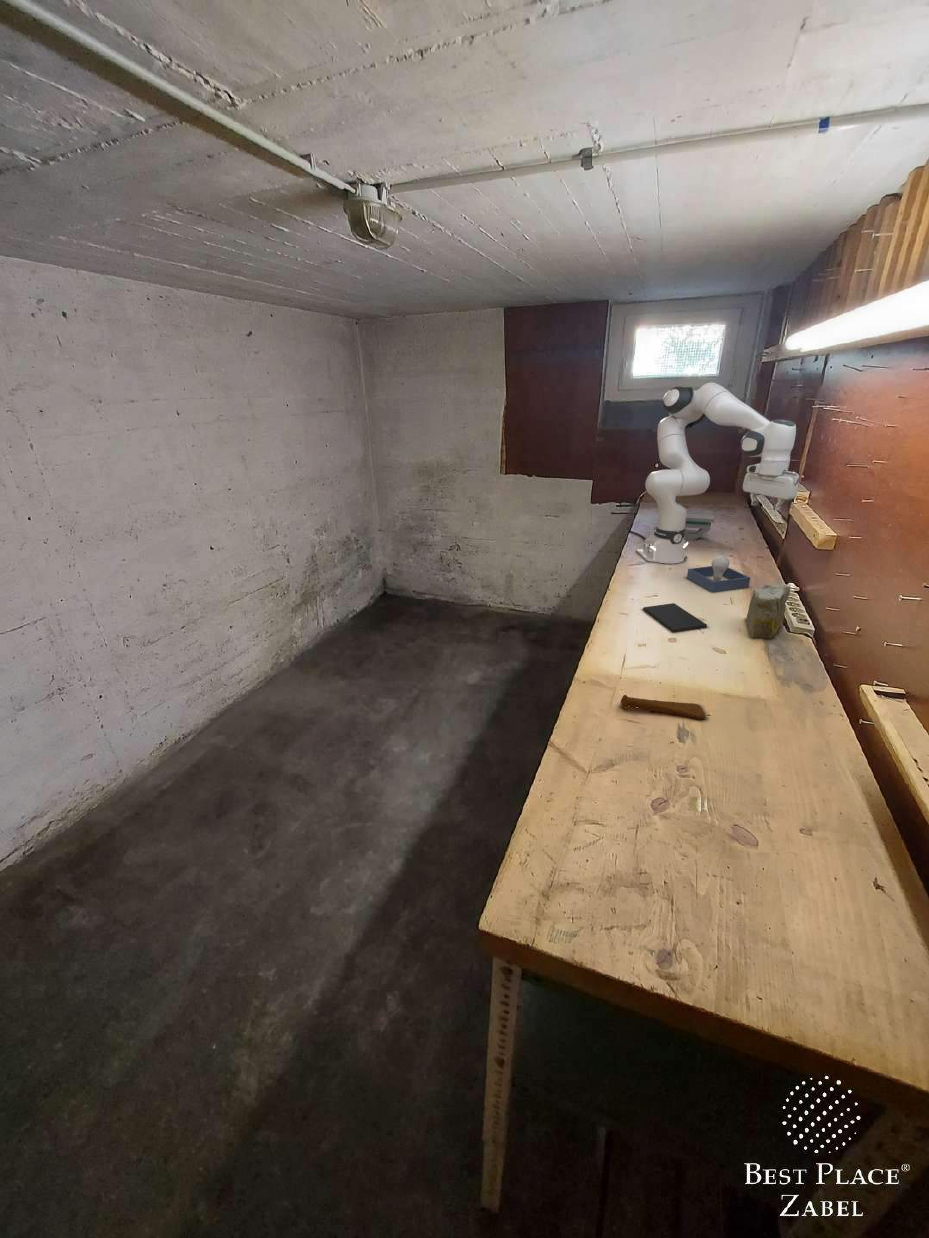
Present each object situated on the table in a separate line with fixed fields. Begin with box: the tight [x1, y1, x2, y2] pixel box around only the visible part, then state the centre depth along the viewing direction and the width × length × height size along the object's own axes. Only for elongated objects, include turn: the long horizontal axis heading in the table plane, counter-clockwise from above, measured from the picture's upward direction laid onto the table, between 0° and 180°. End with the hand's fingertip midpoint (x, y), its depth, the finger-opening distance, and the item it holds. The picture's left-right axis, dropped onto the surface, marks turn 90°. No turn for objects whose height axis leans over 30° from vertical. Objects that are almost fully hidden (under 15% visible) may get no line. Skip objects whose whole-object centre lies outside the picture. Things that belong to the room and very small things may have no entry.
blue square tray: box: [686, 565, 751, 593], centre depth 188 cm, size 16×16×4 cm
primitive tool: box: [620, 694, 706, 720], centre depth 117 cm, size 19×6×4 cm, turn 82°
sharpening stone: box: [684, 513, 716, 541], centre depth 242 cm, size 25×8×11 cm, turn 62°
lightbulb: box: [711, 555, 730, 582], centre depth 187 cm, size 6×6×11 cm
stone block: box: [746, 583, 791, 639], centre depth 150 cm, size 10×15×15 cm
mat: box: [642, 602, 708, 633], centre depth 163 cm, size 18×12×1 cm, turn 12°
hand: (764, 507), depth 177 cm, fingers open, 8 cm apart
